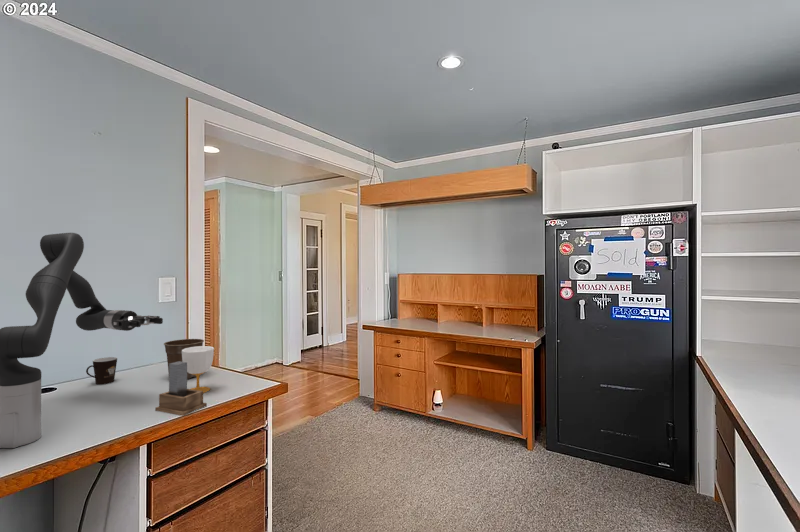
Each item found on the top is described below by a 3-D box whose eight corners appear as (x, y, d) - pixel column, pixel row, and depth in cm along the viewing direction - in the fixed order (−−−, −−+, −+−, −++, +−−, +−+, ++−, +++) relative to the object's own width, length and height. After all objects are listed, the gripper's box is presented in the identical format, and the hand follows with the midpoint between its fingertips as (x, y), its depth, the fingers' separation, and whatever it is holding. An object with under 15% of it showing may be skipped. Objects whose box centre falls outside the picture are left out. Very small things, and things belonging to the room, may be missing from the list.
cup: (204, 384, 168) (204, 344, 168) (219, 389, 162) (219, 348, 162) (175, 391, 159) (175, 349, 159) (191, 397, 152) (191, 353, 152)
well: (182, 415, 134) (182, 399, 134) (155, 410, 138) (155, 394, 138) (206, 405, 143) (206, 390, 143) (180, 401, 148) (180, 386, 148)
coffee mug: (113, 378, 177) (113, 356, 177) (119, 382, 172) (120, 359, 172) (81, 384, 168) (81, 360, 168) (86, 388, 163) (86, 364, 163)
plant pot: (164, 374, 184) (164, 340, 184) (203, 370, 192) (203, 337, 192) (162, 383, 170) (162, 346, 170) (204, 378, 177) (204, 343, 177)
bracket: (183, 408, 138) (183, 365, 138) (168, 405, 140) (169, 363, 140) (193, 404, 141) (193, 363, 141) (178, 402, 144) (179, 361, 144)
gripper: (101, 312, 144) (132, 314, 138) (139, 308, 157) (168, 310, 151) (101, 332, 144) (131, 335, 138) (139, 327, 157) (168, 329, 151)
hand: (151, 322), depth 145 cm, fingers open, 8 cm apart
